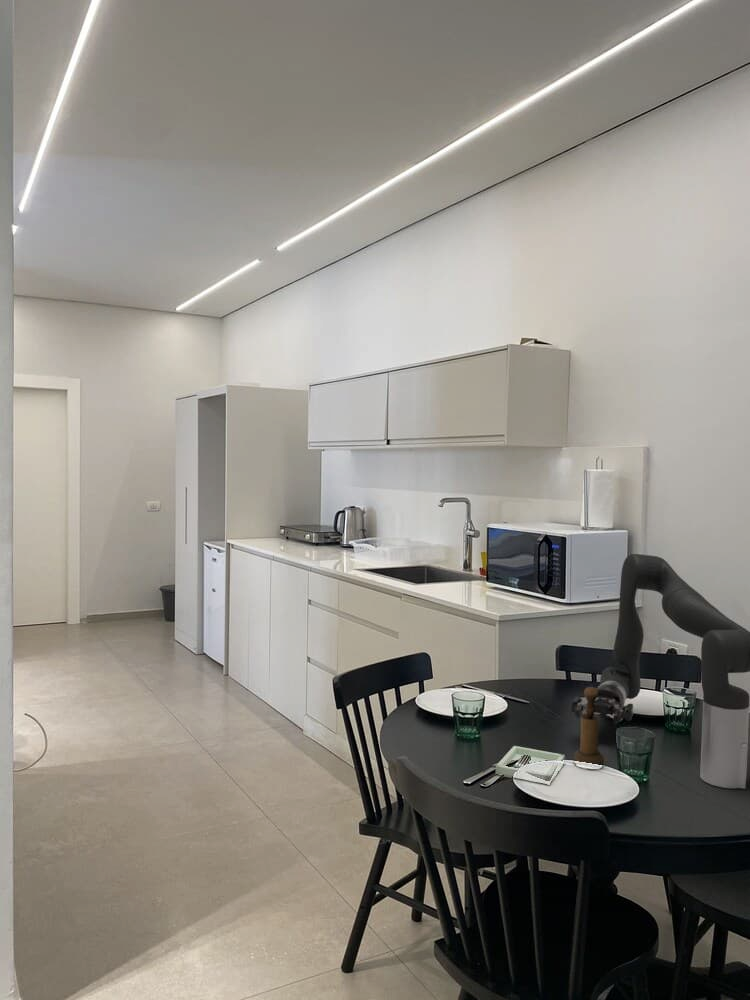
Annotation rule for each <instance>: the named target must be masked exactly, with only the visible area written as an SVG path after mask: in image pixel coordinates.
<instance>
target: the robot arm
mask: <svg viewBox="0 0 750 1000" xmlns="http://www.w3.org/2000/svg"><path fill="white" fill-rule="evenodd" d="M619 587H620V590H619V607H618V608H619V609H618V623H617V624H618V625H617V629H616V630H617V631H616V636H615V640H614V645H613V649H612V658H613V659H614V661H616V662H618V663H619V664H622V666H625V667H626V669H627V670H624V669H620V668H618V667H614V666H607V667H606V668H604V670H603V671H602V673H601V675H600V680H599V683H600V685H598V687H597V688H596V690H597V692H598V696H597V698H596V700H595V701H594V706H595V712H594V715H597V716H598V717H602V718H605V719H608V718H609V719H613V720H612V722H613V723H612V724H615V725H616V724H618V723H621V721H623V719H625V720H626V721H627V722H630V721H631V720H632V718H633V715H634V704H633V703H627V704H626V700H627V699H630V700H632V699H635V698H636V697H637V696H638V695H639V693H640V691H641V675H640V659H641V653H642V648H643V645H644V644H643V642H644V633H645V632H644V628H643V624H642V622H641V621H642V620H641V618H640V616H639V613H638V611H637V607H636V594H637V591H638V590H644V591H653V592H656V593H659V594H661V596H662V597H661V608H662V610H663V613H664V614H665V616H666V617H667V618H668V619H670V621H671V622H672V623H674V624H675V625H676V626H677V627H678V628H679V629H681V630H682V631H685V632H686V633H687V634H688V633H689V634H691V635H693V636H697V637H699V638H701V639H702V640H701V653H700V658H701V659H700V660H701V661H700V662H701V688H702V693H703V697H702V698H703V700H702V723H701V725H702V726H701V747H700V766H699V767H700V768H699V770H700V771H699V773H700V775H699V776H700V779H701V780H702V781H703V782H705V783H707V784H709V785H712V786H715V787H719V788H724V789H742V790H743V789H746V787H747V786H746V785H747V772H748V771H747V769H748V768H747V767H748V750H749V749H748V744H749V721H750V720H749V719H750V718H749V717H750V694H749V693H748V691H746V690H745V689H743V688H741V687H738V686H736V685H734V684H733V685H732V684H731V683H730V681H729V674H739V673H740V674H742V673H749V672H750V631H749V630H748V629H746V628H744V627H743V625H740V624H738V623H737V622H735V621H734V620H732V619H730V618H729V617H728V616H726V615H725V614H724V613H722V612H721V611H720V610H719V609H718V608H717V607H715V606H714V605H712V604H711V603H710V602H709V601H708V600H707V599H706V598H705V597H704V596H703V595H701V593H699V592H698V591H697V590H695V588H693V587H692V586H690V585H689V584H688V583H687V582H686V581H685V580H684V579H683V578H681V576H680V575H679V574H677V572H676V571H675V570H674V568H672V567H671V565H670V564H669V562H668V561H666V560H665V559H664V558H662V557H661V556H657V555H651V554H650V555H649V554H639V553H631V554H628V555H627V556H626V557H625V559H624V561H623V564H622V566H621V573H620V586H619ZM586 705H587V700H586V699H583V698H582V696H580V695H577V696H575V698H573V699H572V700H571V701H570V712H571V713H574V716H576V718H579V719H581V716H582V715H585V714H586V710H585V706H586Z"/></svg>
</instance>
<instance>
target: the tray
mask: <svg viewBox="0 0 750 1000" xmlns="http://www.w3.org/2000/svg"><path fill="white" fill-rule="evenodd" d="M523 755H529V756H531V760H530V761H529V763H534V762H539V761H545V760H556V761H563V760H565V761H566V755H565V754H561V753H556V752H550V751H545V750H539V749H534V748H529V747H522V746H517V745H513V746H512V747H511V749H510V750H508V752H507V753H506V754H505V755H504V756H503V758H502V759H501V760H500V761H499V762H498V763H497V764H496V765H495V775H496V774H502V775H504V776H503V777H504V778H509V779H513V778H512V776H513V774H514V773H515V772H517V771H518V770H519V769H518V768H514V767H508V766H506V765H507V763H508V762H509V761H511V760H518V759H520V758H521V756H523ZM557 766H558V765H552V767H551V768H550V770H549V771H548V772H547V774H544V773H539V772H534V771H528V770H527V771H525V772H526V773H528V774H530V775H532V776H535V777H537V778H540V779H543V780H545V781H550V780H551V778H552V776H553V774H554V772H555V770H556V768H557Z"/></svg>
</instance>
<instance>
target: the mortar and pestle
mask: <svg viewBox="0 0 750 1000" xmlns="http://www.w3.org/2000/svg"><path fill="white" fill-rule="evenodd" d="M596 689H597V688H596V687H594V686H587V687H586V688H585V689H584V691H583V694H584V697H585V700H587V705H586V706H585V710H586V713H585V714H582V716H581V717H580V743H579V744H580V745H579V746H580V747H579V749H577V750H576V751H574V753H573V762H574V761H579V762H586V763H592V764H598V765H604V762H605V761H604V760H605V759H604V757H605V756H604V755H603V754H602V753H601V752H600V751H599V728H600V727H599V726H600V725H599V722H600V716H599V715H596V714H594V712H595V706H594V701H595V700H596V698H597V696H598V692H597V690H596Z"/></svg>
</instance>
